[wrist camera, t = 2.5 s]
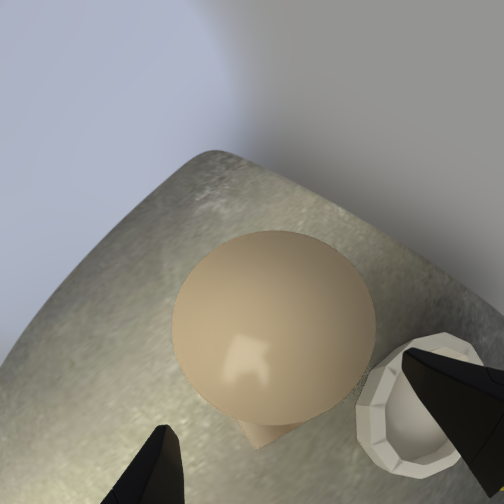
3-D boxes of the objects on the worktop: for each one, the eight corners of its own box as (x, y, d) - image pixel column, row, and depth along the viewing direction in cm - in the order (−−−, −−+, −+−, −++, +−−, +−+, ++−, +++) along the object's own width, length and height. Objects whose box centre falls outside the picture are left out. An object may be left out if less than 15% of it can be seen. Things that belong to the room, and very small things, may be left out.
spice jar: (259, 419, 16) (238, 462, 5) (217, 354, 18) (143, 288, 8) (327, 376, 17) (411, 340, 6) (283, 314, 19) (298, 203, 9)
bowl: (396, 492, 12) (413, 502, 9) (329, 402, 16) (339, 403, 14) (481, 403, 14) (503, 400, 11) (426, 318, 19) (444, 306, 16)
